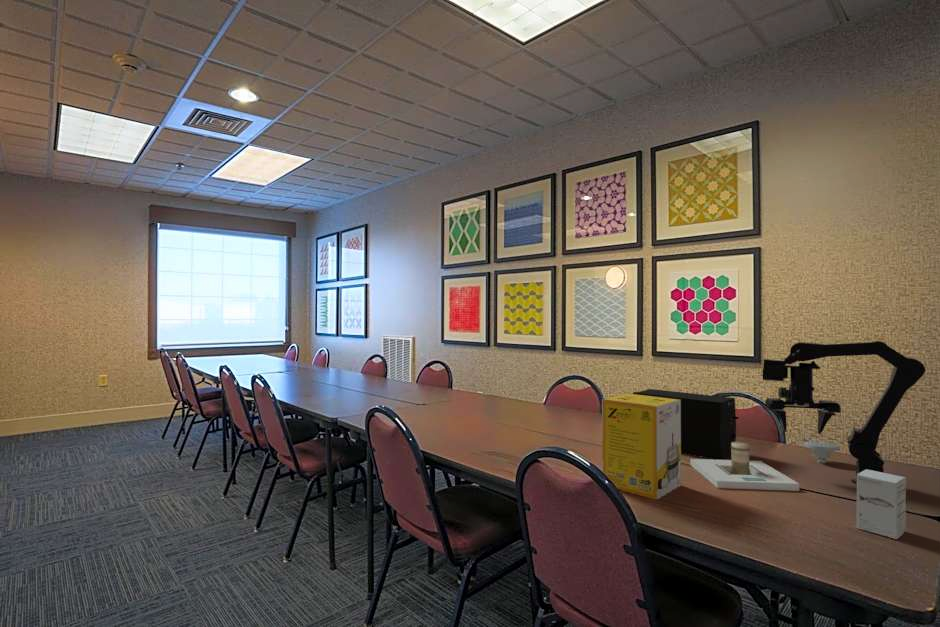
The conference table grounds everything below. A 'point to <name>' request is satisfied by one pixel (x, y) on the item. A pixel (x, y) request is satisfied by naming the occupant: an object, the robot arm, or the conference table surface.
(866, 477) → the supplement box
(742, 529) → the conference table surface
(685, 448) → the uninterruptible power supply
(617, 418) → the packaging box
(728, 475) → the hole plate
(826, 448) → the showerhead
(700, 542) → the conference table surface
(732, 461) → the beech peg
